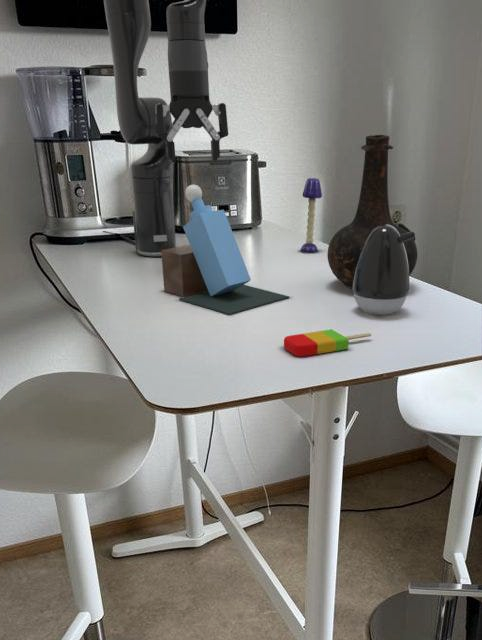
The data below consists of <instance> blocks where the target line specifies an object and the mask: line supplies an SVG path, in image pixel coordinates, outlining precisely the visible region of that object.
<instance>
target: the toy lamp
mask: <svg viewBox="0 0 482 640" xmlns="http://www.w3.org/2000/svg"><path fill="white" fill-rule="evenodd" d="M322 192H323V191H322V186H321V180H320V178H315V177H309V178H307V179H306V181H305V184H304V188H303V191H302V198H306V199H308V201H307V202H308V205H307V209H308V211H307V220H306V222H307V225H306V239H305V241H306V243H304V244H303V245H302V246H301V247H300V251H301V252H302V253H306V254H315V253H318V252H319V250H318V246H317V245H316V244H315V243H313V242H314V238H313V237H314V235H315V234H314V233H315V232H314V230H315V216H316V212H315V210H316V202H317V201H316V199H322V198H323V193H322Z"/></svg>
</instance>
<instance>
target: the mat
mask: <svg viewBox="0 0 482 640" xmlns="http://www.w3.org/2000/svg"><path fill="white" fill-rule="evenodd" d="M287 299H290V296H289V295H287V294H286V295H285V294H282V293H278V292H273V291H270V290H266V289H263V288H258V287H255V286H250V285H247V284H244V285H242V286H241V287H239V288H237V289H236V290H234V291H231V292H228V293H224V294H220V295H216V296H212V297H211V296H210V294H209V291H205V292H201V293H197V294H193V295H189V296H185V297H180V298H178V300H179V301H181V302H185V303H188V304H191V305H194V306H197V307H200V308H201V307H202V308H205V309H208V310H211V311H214V312H218V313H221V314H224V315H227V316H231V315H234V314H238V313H242V312H245V311H249V310H251V309H255V308H259V307H262V306H265V305H269V304H272V303H276V302H280V301H284V300H287Z"/></svg>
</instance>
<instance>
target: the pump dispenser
mask: <svg viewBox="0 0 482 640" xmlns="http://www.w3.org/2000/svg"><path fill="white" fill-rule="evenodd" d="M416 235H417V234H416V232H415V231H414V230H413V231H411V232H408V233H404V234H401V235H400V234H399V232H398V231H397V229H396V228H394V227H393V226H391V225H387V224H384V225H380V226H377V227H376V228H374V229H373V230H372V232H371V233H370V235H369V236H368V238H367V240H366V242H365V244H364V246H363V248H362V251H361V253H360V256H359V259H358V262H357V266H356V270H355V275H354V280H353V288H352V292H353V294H354V299H355V303H356V304H357V306H358V307H359V308H360V309H361V310H362V311H363V312H365V313H366V314H369V315H373V316H388V315H392V314H394V313H395V312H397V311H399V310H400V309H401V308H402V307H403V306H404V303H405V302H406V299H407V296H408V295H409V293H410V287H411V286H410V285H411V284H410V276H409V266H408V259H407V254H406V250H405V247H404V244H403V242H405V241H407V240H410V239H411V238H414V237H415V238H416Z"/></svg>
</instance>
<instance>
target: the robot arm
mask: <svg viewBox="0 0 482 640" xmlns="http://www.w3.org/2000/svg"><path fill="white" fill-rule="evenodd" d="M149 2H150V1H149V0H103V5H104V13H105V20H106V26H107V31H108V36H109V43H110V49H111V57H112V65H113V75H114V86H115V89H114V90H115V103H116V114H117V122H118V128H119V131H120V134H121V137H122V138H123V140H124V142H126V143H127V144H129V145H134V146H135V145H136V146H137V145H147V150H146V152H145V153H144V154H143V155H142V156H141V157H140V158H137V159H136V160H135V161H133V162H131V164H130V176H131V177H130V179H131V188H132V189H131V191H132V200H133V210H132V221H133V222H132V223H133V234H134V235H133V236H134V240H133V239H131V238H130V237H128V236H127V237H125V236H126V235H125V236H123V235H124V234H123V235H120V236H119V238H122V239H123V240H125V241H127V242H128V243H130V244H132V245H134V246H135V252H136V253H137V254H138V255H140V256H142V257H155V258H156V257H162V255H161V250H165V249H170V248H175V247H177V240H176V223H175V222H176V221H175V208H174V193H173V178H172V167H173V164H175V163H176V162H177V161H176V148H175V147H176V146H175V141H174V139H175V137H176V135H178V134H177V133H178V132H179V131H180V129H181V128H183V129H191V128H194V129H202V128H203V129H204V130H205V132H206V133H207V134H208V135H209V137H210V138H211V140H210V149H211V150H210V152H211V153H210V155H211V156H210V157H211V162H217V161H218V159H219V158H220V156H221V147H220V146H221V145H220V141H221V139H223V138H226V137H228V136H229V126H228V114H227V105H226V104H225V103H224V102H218V103H215V104H212V103H211V99H210V83H209V61H208V52H207V51H208V50H207V46H206V45H207V44H206V31H205V30H206V29H205V12H206V5H207V0H183V1H178V2H172V3H171V4H169V5H168V6H167V7H166V10H165V18H166V19H165V20H166V33H167V66H168V67H167V68H168V81H169V93H170V94H169V95H170V102H169V104H168V103H167V102H166V100H165V99H163V98H161V97H147V96H146V97H140V96H139V91H138V90H139V89H138V70H139V66H140V63H141V59H142V57H143V54H144V52H145V49H146V47H147V43H148V40H149V37H150V34H151V28H152V19H151V18H152V17H151V10H150V3H149ZM212 112H214V114H215V116H217V118H218V129H219V131H217V130H216V129H215V127H214V125H213V124H212V123H211V121H210V119H209V117H210V115H211V113H212ZM172 117H173V120H172Z"/></svg>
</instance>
